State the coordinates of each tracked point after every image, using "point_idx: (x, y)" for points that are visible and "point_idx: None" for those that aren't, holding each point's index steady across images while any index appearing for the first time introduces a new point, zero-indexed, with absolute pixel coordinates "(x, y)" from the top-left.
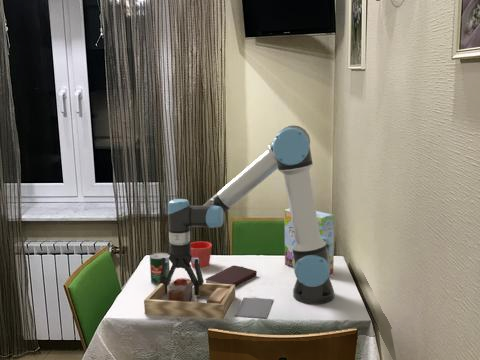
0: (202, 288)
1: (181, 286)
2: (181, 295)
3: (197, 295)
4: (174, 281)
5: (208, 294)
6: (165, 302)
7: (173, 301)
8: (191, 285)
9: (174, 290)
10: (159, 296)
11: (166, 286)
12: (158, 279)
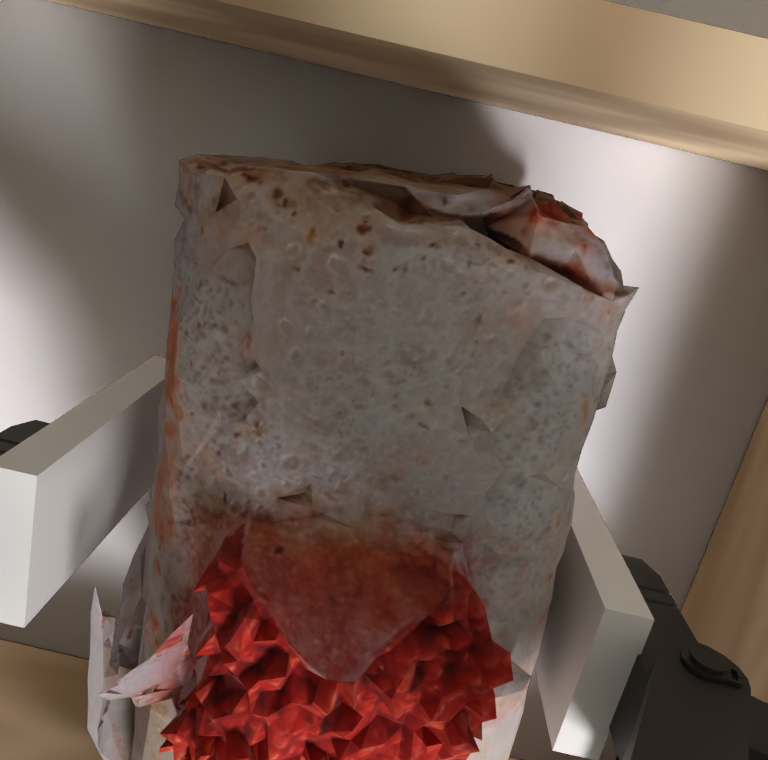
0: (59, 755)
1: (265, 438)
2: (268, 159)
3: None
4: (475, 670)
5: (20, 671)
6: (638, 16)
7: (453, 6)
8: (94, 622)
9: (442, 218)
10: (714, 634)
11: (662, 640)
12: None
